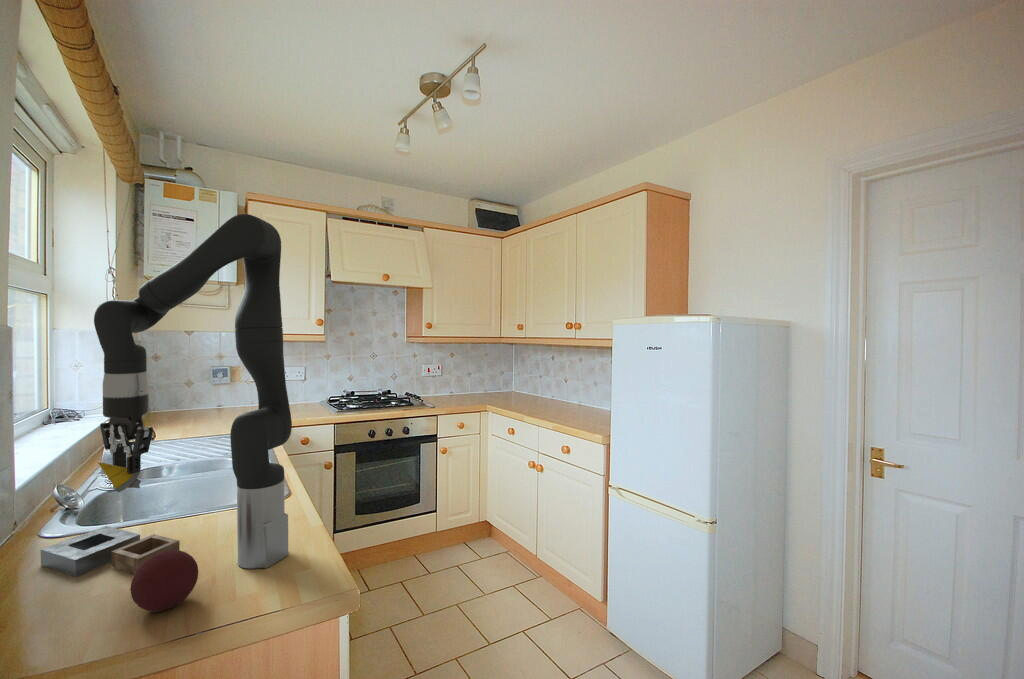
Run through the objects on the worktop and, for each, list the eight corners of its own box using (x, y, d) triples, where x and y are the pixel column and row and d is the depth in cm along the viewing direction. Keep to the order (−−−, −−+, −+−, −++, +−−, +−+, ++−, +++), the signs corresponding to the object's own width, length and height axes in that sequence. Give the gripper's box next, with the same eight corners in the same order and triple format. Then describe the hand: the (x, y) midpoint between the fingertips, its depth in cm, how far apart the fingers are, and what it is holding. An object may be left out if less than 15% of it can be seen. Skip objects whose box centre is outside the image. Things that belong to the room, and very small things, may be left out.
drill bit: (140, 495, 98) (97, 469, 93) (124, 502, 100) (80, 476, 95) (156, 474, 103) (115, 448, 97) (140, 481, 104) (99, 456, 99)
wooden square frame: (179, 555, 102) (179, 540, 102) (138, 575, 94) (137, 558, 94) (154, 549, 105) (153, 534, 105) (111, 567, 97) (111, 551, 97)
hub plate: (140, 549, 105) (140, 534, 105) (75, 576, 94) (75, 560, 93) (106, 540, 109) (106, 525, 109) (41, 565, 98) (40, 549, 97)
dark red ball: (124, 608, 84) (123, 554, 83) (189, 584, 91) (188, 535, 91) (138, 632, 77) (137, 574, 77) (206, 604, 85) (205, 551, 85)
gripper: (166, 393, 100) (167, 470, 100) (124, 388, 105) (124, 461, 105) (128, 398, 93) (128, 481, 93) (84, 392, 97) (85, 471, 98)
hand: (126, 470), depth 99 cm, fingers closed on drill bit, 4 cm apart
